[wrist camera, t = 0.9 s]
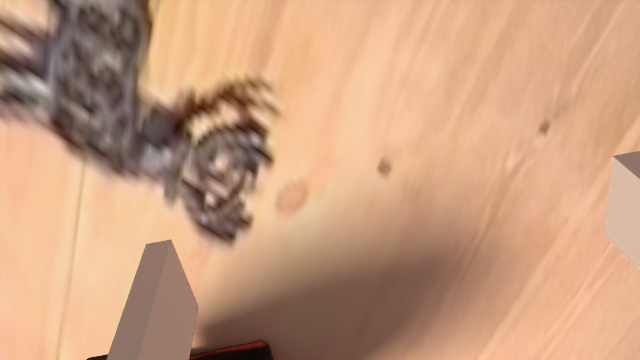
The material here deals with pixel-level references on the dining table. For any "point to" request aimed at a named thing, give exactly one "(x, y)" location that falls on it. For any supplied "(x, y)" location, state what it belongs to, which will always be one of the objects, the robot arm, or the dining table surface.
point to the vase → (239, 353)
